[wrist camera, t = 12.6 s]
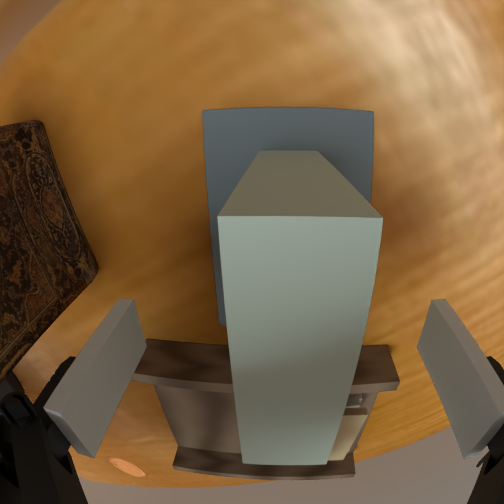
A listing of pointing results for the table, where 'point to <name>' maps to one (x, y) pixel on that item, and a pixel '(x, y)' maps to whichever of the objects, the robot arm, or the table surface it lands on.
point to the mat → (280, 138)
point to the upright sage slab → (295, 301)
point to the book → (35, 242)
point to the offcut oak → (348, 431)
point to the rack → (224, 410)
